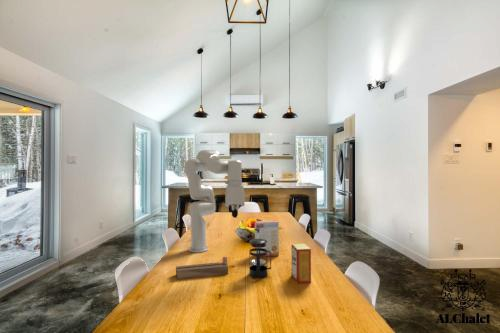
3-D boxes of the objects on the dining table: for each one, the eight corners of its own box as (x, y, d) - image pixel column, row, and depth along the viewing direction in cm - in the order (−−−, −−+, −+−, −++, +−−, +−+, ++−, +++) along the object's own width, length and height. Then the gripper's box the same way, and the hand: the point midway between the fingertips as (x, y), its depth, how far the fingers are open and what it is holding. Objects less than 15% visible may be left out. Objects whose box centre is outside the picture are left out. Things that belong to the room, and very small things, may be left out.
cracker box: (276, 252, 165) (276, 219, 165) (279, 256, 159) (279, 221, 159) (254, 254, 162) (254, 220, 162) (256, 257, 156) (256, 222, 156)
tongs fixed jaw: (177, 275, 130) (177, 266, 130) (227, 270, 136) (227, 261, 136) (176, 279, 126) (176, 269, 126) (228, 273, 132) (228, 264, 132)
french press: (247, 278, 127) (247, 231, 127) (248, 270, 136) (247, 226, 136) (271, 278, 126) (271, 231, 126) (270, 271, 136) (270, 226, 136)
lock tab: (213, 268, 138) (213, 256, 138) (226, 267, 140) (226, 255, 140) (213, 270, 136) (213, 258, 136) (226, 268, 138) (226, 256, 138)
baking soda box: (291, 275, 130) (291, 243, 130) (304, 274, 131) (304, 242, 131) (297, 283, 121) (297, 248, 121) (310, 282, 122) (310, 248, 122)
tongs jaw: (176, 274, 131) (176, 266, 131) (219, 269, 137) (219, 262, 137) (175, 276, 129) (175, 268, 129) (220, 271, 134) (220, 263, 135)
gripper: (221, 183, 135) (222, 219, 135) (249, 183, 139) (249, 217, 139) (219, 183, 142) (219, 216, 142) (246, 182, 146) (246, 215, 146)
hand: (234, 217), depth 141 cm, fingers closed
